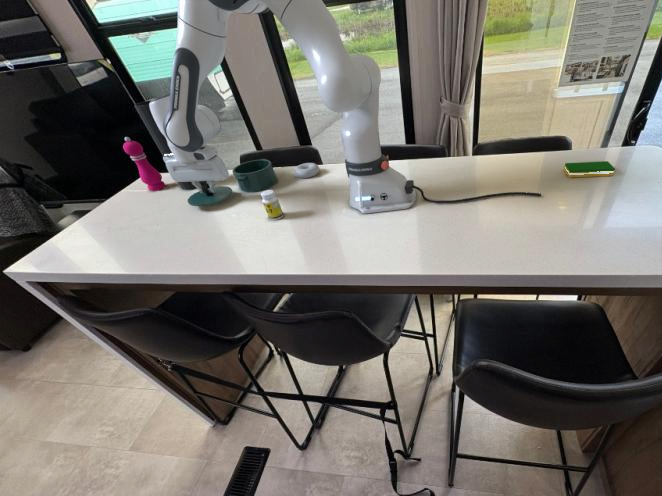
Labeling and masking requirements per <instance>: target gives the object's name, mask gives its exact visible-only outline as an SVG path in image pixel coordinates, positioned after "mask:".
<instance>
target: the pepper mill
mask: <svg viewBox="0 0 662 496" xmlns="http://www.w3.org/2000/svg"><path fill="white" fill-rule="evenodd" d="M124 141H125V142H124V143H123V145H122V148H123V150H124V152H125V153H126V155H129V158H130V159H131V161H133V162H134V164H136V166H137V169H138V173H139V177H140V180H141V182H142V183H143V184H145V185H147V189H148V190H149V191H150V192H157V191H160V190H163V189H165V188H166V187H167V185H166V183H165V181H163V180H162V179H163V176H162V174H161V173H160V172H159V171H158V170H157V169H156V168H155V167H153V165H152V164H151V163H150V162H149V161H148V159H147V155H146V154H145V152H144V147H143V146H142V144H141V143H140V142H138V141H135V140H131V138H130V137H129V136H125V137H124Z"/></svg>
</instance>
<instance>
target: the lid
mask: <svg viewBox="0 0 662 496" xmlns="http://www.w3.org/2000/svg"><path fill="white" fill-rule="evenodd" d="M201 186H202V188H203V190H204V192H205V193H200V191H199V190H198V191H197V192H195V193H193V194H190V196H189V197H188V198H187V203H188V205H190V206H192V207H205V206H209V205H210V206H211V205H215V204H217V203H220V202H222V201H224V200H226V199H228V198H229V197H230V196H231V195H232V194H233V189H232V187H230V186H227V185H217V186H214V187H215V189H216V192H214V193H210V192H209V190H208V188H209V187H210V184H208V183H204V184H202V185H201Z"/></svg>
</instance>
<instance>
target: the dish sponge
mask: <svg viewBox="0 0 662 496" xmlns="http://www.w3.org/2000/svg"><path fill="white" fill-rule="evenodd" d="M564 166H565V167H566V169H567V170H568V171H569V173H589V172H597V171H599V172H600V171H614V173H615V171H616V167H614V166H613V165H612V164H611V162H609V161H607V160H605V161H604V160H603V161H583V162H565V163H564ZM566 169H565V168H564V167H563V171H564V173H565V174H566V175H567V177H568V178H591V177H594V178H595V177H613V176H614V173H609V174H584V175H569V174H568V172H567V171H566Z"/></svg>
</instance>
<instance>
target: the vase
mask: <svg viewBox="0 0 662 496" xmlns="http://www.w3.org/2000/svg"><path fill="white" fill-rule="evenodd" d="M151 100H152V99H149V100H144V101H141V102H137V103H135V104H134V105H133V106H134V108H135V110H136V112H137V114H138V115H139V117H140V119H141V121H142V122H143V124H144V125H145V127H146V129H147V131H148V133H149V134H150V137H151V138H152V140H153V142H154V143H155V145H156V146H157V148H158V150H159V152H160V154H161V156H162V157H163V156H164V155H165V154H167V153H168V154H171V153H172V152H171V150H170V148H169V146H168V143H167V140H166V138H165V136H164V135H163V134H162V133H161V131H160V130H159V128H158V126H157V124H156V122H155V120H154V118H153V116H152V113H151V110H150V106H149V103H150V101H151ZM177 183H178V185H179V187H180V188H181V190H183V191H184V190H185V191H190V190H196V189H197V188H196V187H195V186H194V185H193V184H192V182H177ZM199 183H200V184H201V185H202V184H204V183H207V181H199Z"/></svg>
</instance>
